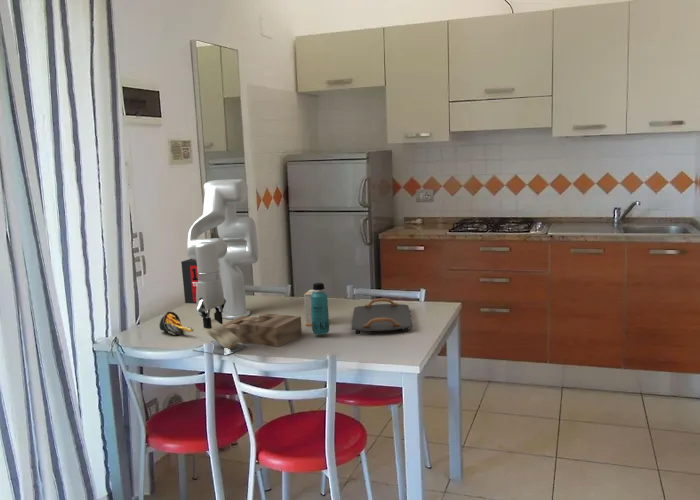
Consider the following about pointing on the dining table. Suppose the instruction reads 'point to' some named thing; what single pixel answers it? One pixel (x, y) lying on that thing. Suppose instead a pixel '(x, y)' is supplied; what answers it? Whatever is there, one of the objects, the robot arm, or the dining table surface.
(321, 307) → the beverage bottle
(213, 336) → the maple bar
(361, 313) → the serving board
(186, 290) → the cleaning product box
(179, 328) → the fried shrimp in bowl
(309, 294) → the supplement box
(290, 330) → the slotted wooden block
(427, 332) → the dining table surface
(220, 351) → the rubber mat
